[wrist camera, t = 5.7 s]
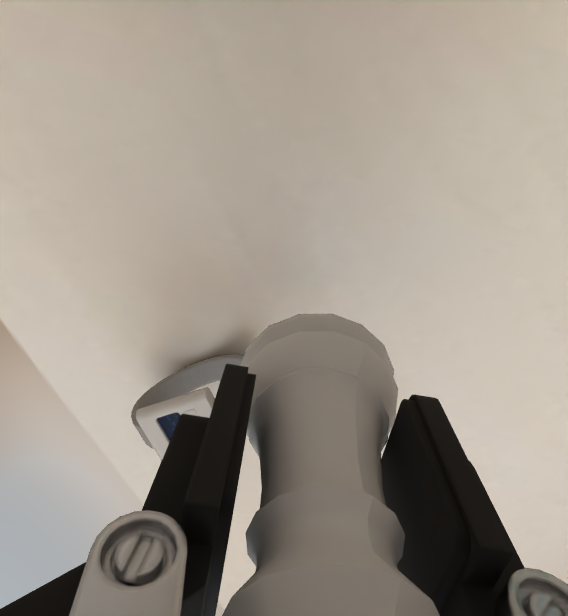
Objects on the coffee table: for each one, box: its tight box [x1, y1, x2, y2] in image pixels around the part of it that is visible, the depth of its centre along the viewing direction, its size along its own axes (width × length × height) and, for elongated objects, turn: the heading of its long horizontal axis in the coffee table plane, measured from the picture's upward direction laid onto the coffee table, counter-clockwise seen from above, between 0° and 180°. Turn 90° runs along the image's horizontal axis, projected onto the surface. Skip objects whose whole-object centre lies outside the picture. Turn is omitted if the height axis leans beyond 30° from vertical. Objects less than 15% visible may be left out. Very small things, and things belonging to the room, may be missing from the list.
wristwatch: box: [131, 354, 244, 461], centre depth 20 cm, size 6×3×5 cm, turn 111°
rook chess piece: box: [222, 314, 440, 616], centre depth 9 cm, size 4×4×8 cm
